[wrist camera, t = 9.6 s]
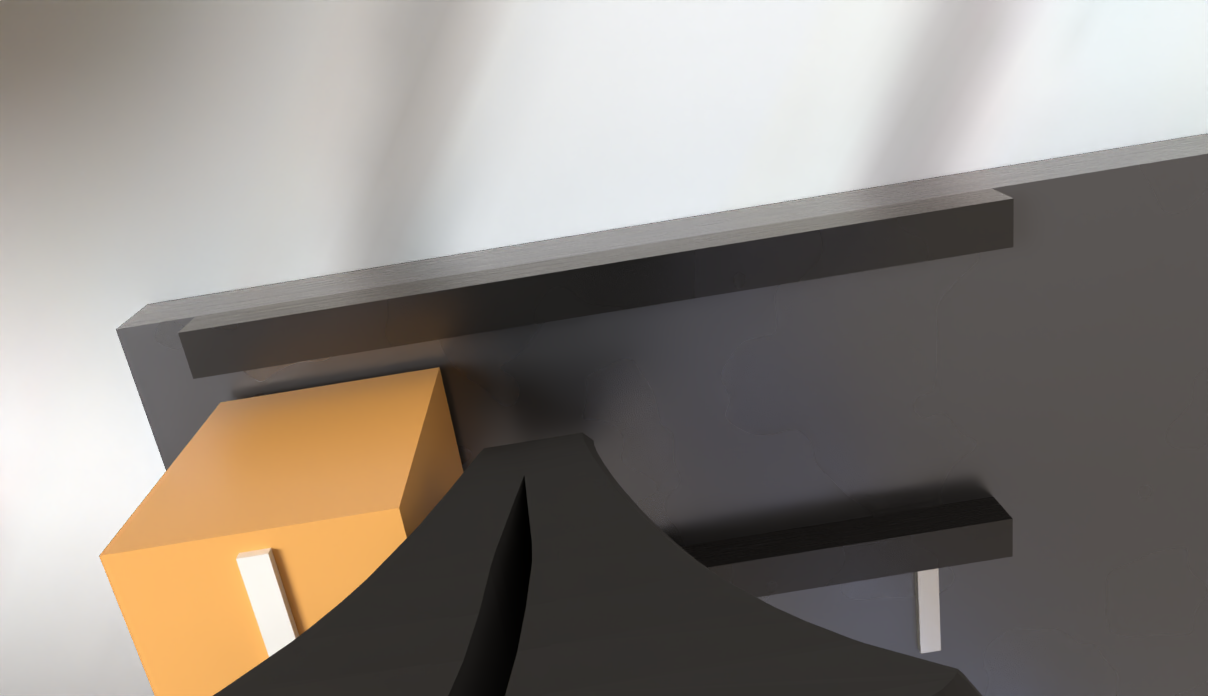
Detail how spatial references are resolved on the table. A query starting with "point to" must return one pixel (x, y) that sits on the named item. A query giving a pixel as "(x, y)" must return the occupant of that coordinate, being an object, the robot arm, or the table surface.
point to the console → (831, 399)
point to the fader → (276, 522)
